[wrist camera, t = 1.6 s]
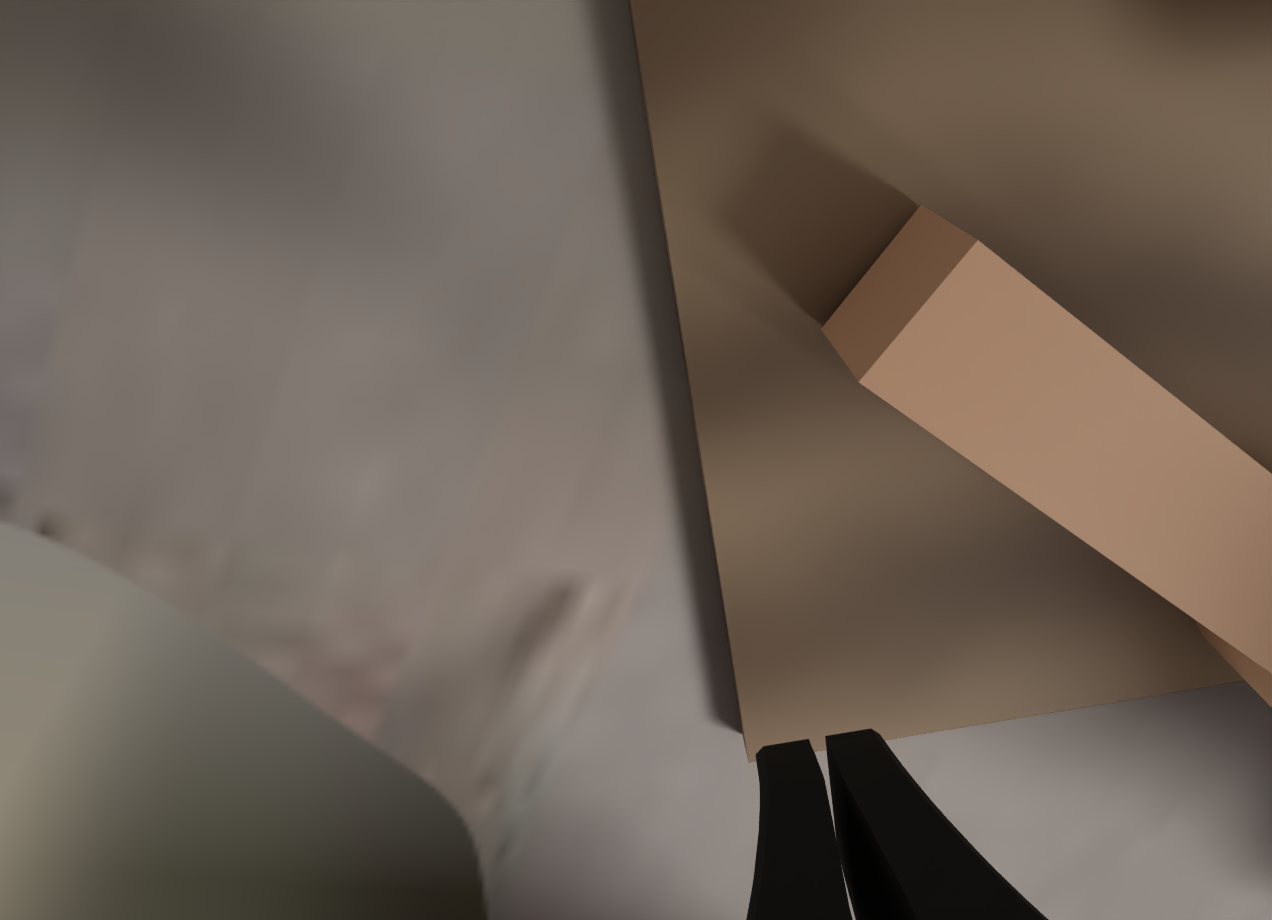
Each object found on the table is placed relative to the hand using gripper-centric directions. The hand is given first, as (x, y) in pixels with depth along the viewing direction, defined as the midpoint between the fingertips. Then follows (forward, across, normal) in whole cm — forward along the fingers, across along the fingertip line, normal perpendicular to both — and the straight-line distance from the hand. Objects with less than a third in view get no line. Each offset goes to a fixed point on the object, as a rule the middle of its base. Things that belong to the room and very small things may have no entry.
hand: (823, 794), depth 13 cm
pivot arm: (+9, -9, +1) cm, 13 cm away
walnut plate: (+10, -8, -2) cm, 13 cm away
